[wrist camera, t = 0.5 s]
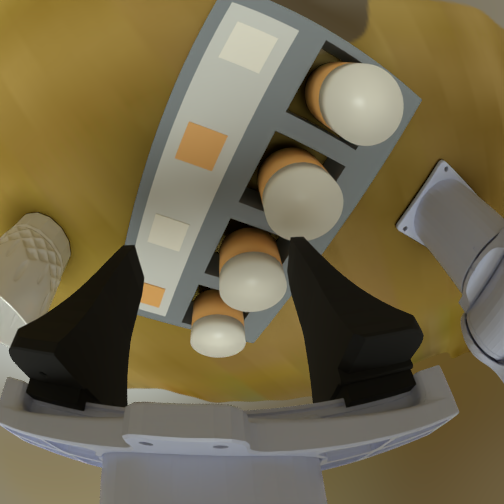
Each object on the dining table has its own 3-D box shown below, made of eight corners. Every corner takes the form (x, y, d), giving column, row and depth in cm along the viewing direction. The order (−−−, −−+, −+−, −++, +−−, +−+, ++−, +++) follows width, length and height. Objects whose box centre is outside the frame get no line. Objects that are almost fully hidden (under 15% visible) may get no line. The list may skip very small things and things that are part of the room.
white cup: (2, 219, 20) (-52, 288, 12) (51, 194, 19) (-13, 272, 11) (39, 278, 24) (2, 351, 16) (90, 265, 24) (53, 351, 16)
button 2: (334, 165, 18) (357, 191, 15) (302, 216, 20) (317, 250, 17) (276, 136, 16) (289, 156, 13) (246, 194, 19) (251, 226, 16)
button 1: (381, 86, 14) (416, 96, 11) (350, 139, 17) (377, 160, 14) (325, 48, 13) (352, 46, 10) (292, 107, 15) (310, 120, 12)
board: (399, 92, 17) (423, 100, 14) (250, 320, 30) (253, 344, 28) (226, -4, 12) (226, -17, 10) (121, 284, 26) (113, 309, 23)
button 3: (288, 239, 21) (299, 275, 18) (261, 280, 24) (267, 317, 20) (233, 219, 20) (235, 254, 17) (211, 265, 22) (209, 302, 19)
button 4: (250, 296, 25) (254, 333, 21) (231, 325, 27) (233, 361, 24) (202, 283, 23) (200, 321, 20) (187, 315, 26) (184, 351, 22)
